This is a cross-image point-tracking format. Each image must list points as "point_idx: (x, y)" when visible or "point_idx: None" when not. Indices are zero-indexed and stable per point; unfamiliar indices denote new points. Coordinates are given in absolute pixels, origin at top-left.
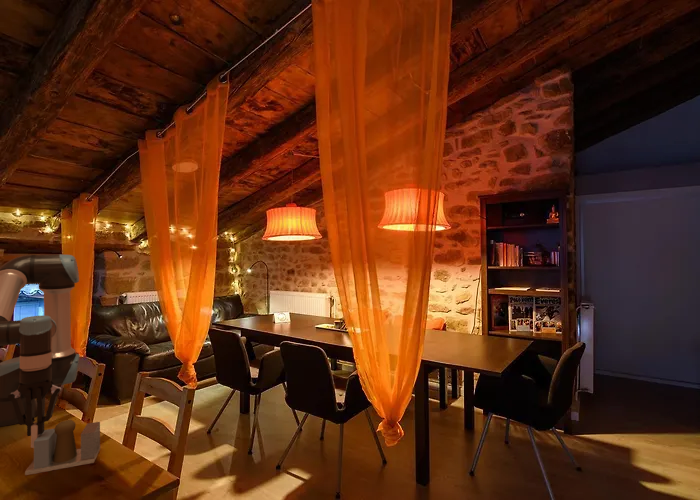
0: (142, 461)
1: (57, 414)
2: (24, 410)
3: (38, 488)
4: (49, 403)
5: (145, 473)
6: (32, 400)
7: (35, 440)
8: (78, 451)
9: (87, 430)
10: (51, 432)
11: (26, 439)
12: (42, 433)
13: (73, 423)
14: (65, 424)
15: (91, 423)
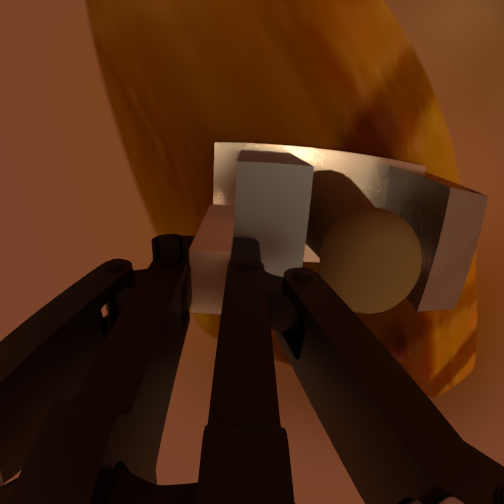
0: (475, 301)
1: None
2: (75, 314)
3: (274, 339)
4: (337, 444)
5: (460, 348)
6: (143, 474)
7: None
8: (364, 179)
9: (441, 281)
10: (294, 226)
11: None
12: (244, 216)
13: (416, 281)
14: (383, 306)
15: (463, 199)
